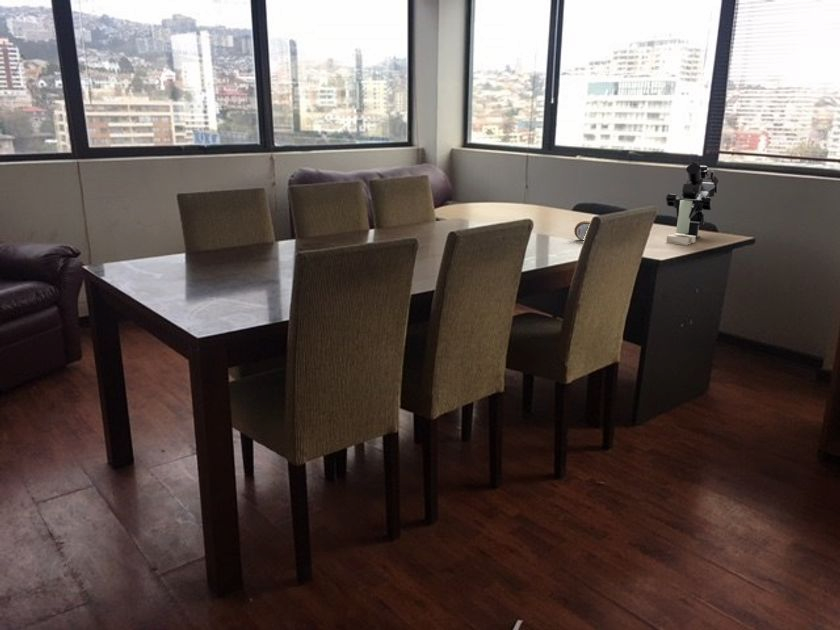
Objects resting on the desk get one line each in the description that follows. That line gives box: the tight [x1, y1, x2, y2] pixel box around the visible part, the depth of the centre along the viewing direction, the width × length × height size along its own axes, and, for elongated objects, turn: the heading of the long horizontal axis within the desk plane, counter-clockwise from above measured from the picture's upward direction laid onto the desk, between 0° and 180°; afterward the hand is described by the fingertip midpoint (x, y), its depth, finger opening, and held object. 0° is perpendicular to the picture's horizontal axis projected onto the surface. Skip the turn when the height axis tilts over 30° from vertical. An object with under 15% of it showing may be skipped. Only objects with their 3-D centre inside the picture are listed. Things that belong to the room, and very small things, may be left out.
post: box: [675, 200, 693, 234], centre depth 300 cm, size 5×5×14 cm
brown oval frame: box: [574, 220, 591, 241], centre depth 301 cm, size 15×3×8 cm, turn 84°
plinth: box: [666, 233, 697, 246], centre depth 303 cm, size 9×9×3 cm
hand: (683, 217), depth 299 cm, fingers closed on post, 5 cm apart
